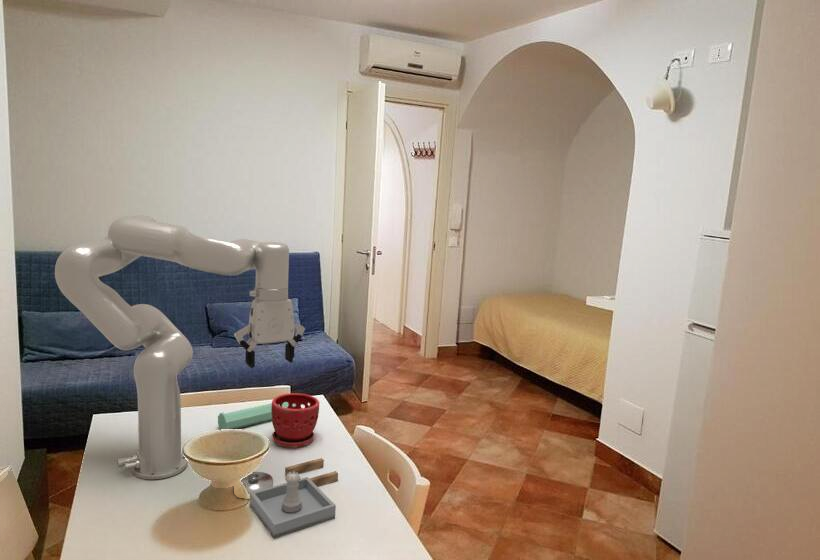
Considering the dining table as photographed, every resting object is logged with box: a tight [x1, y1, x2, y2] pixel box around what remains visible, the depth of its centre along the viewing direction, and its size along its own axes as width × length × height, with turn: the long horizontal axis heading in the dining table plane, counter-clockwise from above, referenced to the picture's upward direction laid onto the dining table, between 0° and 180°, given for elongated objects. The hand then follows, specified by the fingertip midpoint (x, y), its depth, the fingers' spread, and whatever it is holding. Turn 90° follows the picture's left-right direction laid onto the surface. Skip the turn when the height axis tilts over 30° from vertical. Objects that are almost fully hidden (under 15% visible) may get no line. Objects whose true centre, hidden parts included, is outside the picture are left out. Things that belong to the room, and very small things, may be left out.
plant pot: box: [271, 392, 320, 448], centre depth 155 cm, size 13×13×12 cm
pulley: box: [241, 471, 274, 494], centre depth 130 cm, size 9×9×3 cm
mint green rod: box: [217, 402, 296, 431], centre depth 167 cm, size 6×6×25 cm
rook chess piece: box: [281, 471, 302, 513], centre depth 121 cm, size 4×4×8 cm
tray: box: [249, 476, 336, 539], centre depth 122 cm, size 14×14×3 cm
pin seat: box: [284, 457, 339, 488], centre depth 136 cm, size 10×9×2 cm
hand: (270, 363), depth 134 cm, fingers open, 9 cm apart
